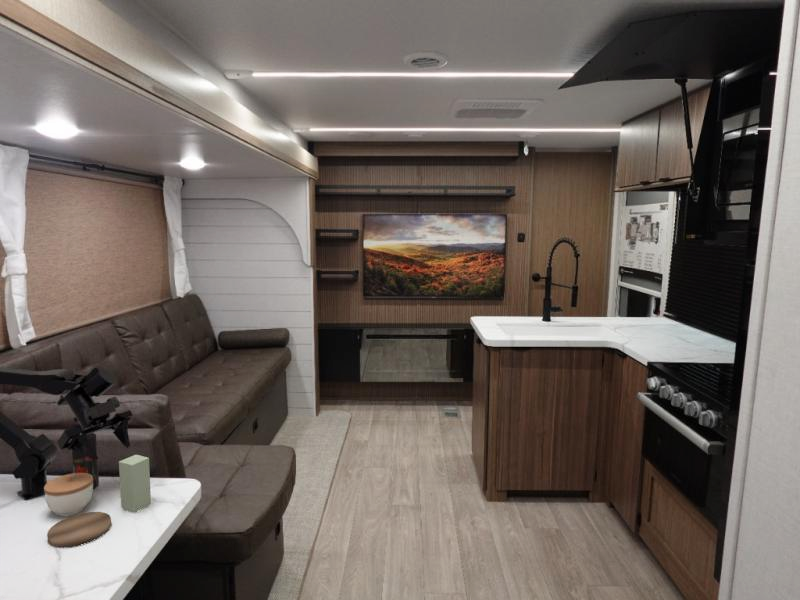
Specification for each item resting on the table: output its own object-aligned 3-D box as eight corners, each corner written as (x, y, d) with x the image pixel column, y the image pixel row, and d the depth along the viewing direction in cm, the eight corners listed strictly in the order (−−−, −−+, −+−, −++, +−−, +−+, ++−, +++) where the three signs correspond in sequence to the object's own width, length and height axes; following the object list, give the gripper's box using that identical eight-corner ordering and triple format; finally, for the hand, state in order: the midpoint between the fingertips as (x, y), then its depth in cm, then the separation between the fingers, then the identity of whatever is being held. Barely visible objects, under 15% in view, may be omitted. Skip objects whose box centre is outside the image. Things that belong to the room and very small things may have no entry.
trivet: (38, 534, 120) (38, 529, 120) (96, 511, 131) (96, 506, 130) (61, 554, 113) (61, 548, 112) (121, 528, 123) (120, 522, 123)
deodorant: (103, 484, 145) (100, 435, 144) (83, 494, 140) (79, 442, 138) (90, 480, 148) (87, 431, 146) (69, 489, 142) (66, 438, 141)
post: (121, 508, 132) (118, 461, 131) (138, 500, 137) (135, 454, 135) (134, 513, 130) (132, 465, 129) (151, 504, 135) (148, 457, 133)
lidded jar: (71, 523, 125) (68, 487, 124) (35, 518, 127) (32, 483, 126) (104, 502, 136) (102, 468, 135) (70, 497, 138) (68, 465, 137)
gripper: (61, 399, 127) (92, 449, 124) (127, 381, 144) (156, 425, 141) (44, 424, 131) (73, 473, 128) (111, 404, 148) (138, 447, 145)
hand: (113, 453), depth 135 cm, fingers open, 9 cm apart
